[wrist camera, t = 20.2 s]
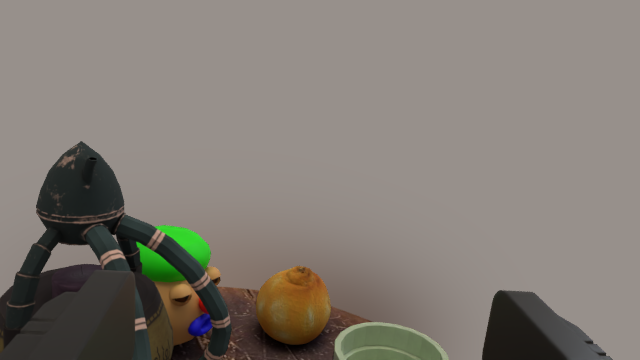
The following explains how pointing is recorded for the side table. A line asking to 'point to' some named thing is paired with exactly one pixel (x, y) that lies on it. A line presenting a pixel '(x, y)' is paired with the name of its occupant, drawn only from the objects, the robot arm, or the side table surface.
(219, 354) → the teapot
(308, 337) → the fruit
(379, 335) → the bowl
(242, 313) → the side table surface
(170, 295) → the figurine
